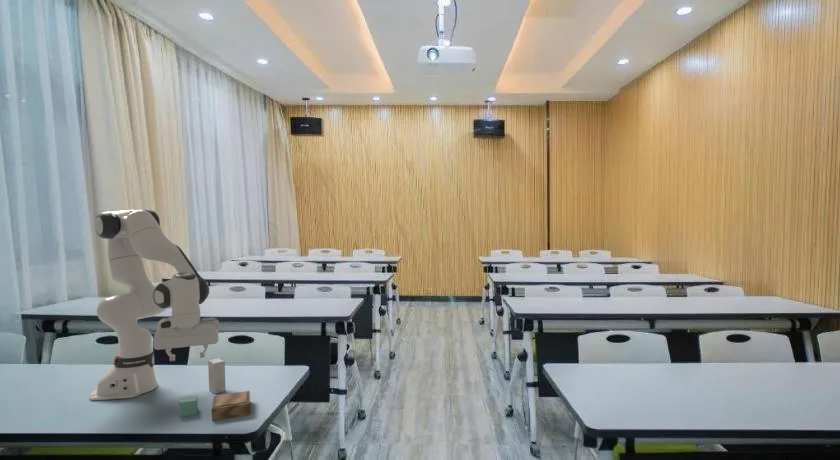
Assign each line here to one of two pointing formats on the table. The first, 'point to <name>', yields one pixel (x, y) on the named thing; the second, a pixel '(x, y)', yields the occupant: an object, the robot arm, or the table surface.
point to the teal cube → (188, 406)
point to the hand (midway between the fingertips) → (187, 358)
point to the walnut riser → (231, 405)
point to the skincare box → (216, 375)
